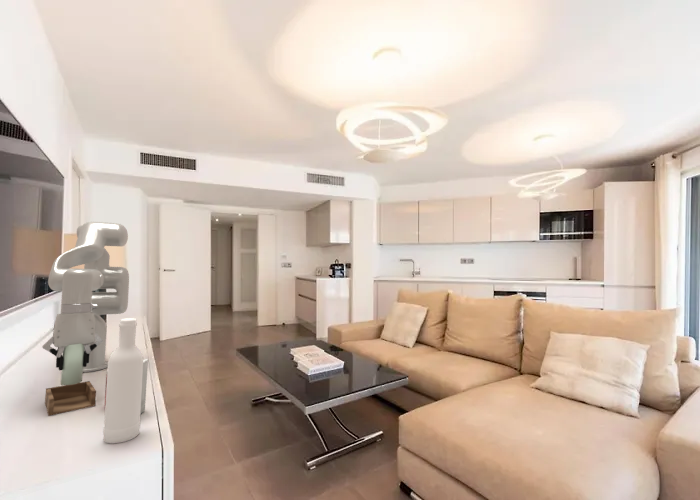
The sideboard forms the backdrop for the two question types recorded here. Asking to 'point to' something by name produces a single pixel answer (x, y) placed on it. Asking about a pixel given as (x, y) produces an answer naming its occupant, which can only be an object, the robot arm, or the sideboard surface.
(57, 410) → the u rest
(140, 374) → the bottle
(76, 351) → the bottle
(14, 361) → the sideboard surface
